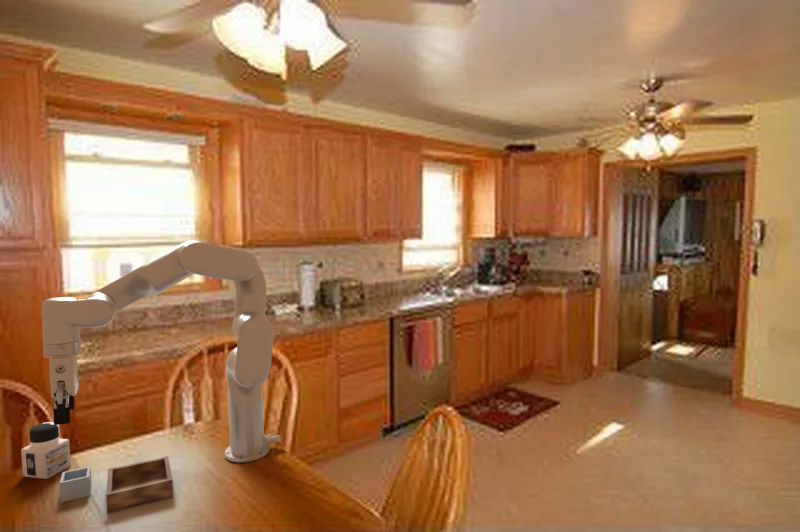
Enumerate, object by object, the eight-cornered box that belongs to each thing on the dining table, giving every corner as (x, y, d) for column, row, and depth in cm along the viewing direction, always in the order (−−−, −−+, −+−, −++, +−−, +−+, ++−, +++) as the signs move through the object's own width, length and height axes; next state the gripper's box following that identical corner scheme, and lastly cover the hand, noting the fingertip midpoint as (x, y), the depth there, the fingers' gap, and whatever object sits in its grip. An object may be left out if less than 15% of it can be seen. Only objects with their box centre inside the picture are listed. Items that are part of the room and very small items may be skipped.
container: (46, 479, 130) (43, 432, 129) (22, 476, 131) (18, 429, 130) (71, 465, 137) (68, 420, 136) (48, 462, 139) (45, 418, 138)
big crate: (169, 472, 133) (168, 456, 133) (173, 497, 121) (172, 479, 121) (109, 485, 127) (108, 468, 126) (107, 513, 115) (106, 495, 114)
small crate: (91, 484, 127) (90, 466, 127) (90, 496, 122) (88, 476, 122) (63, 491, 125) (62, 472, 124) (61, 502, 119) (59, 483, 119)
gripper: (77, 355, 114) (79, 426, 115) (83, 339, 129) (85, 403, 130) (37, 358, 110) (40, 432, 112) (48, 342, 126) (50, 407, 127)
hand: (64, 416), depth 121 cm, fingers open, 9 cm apart
